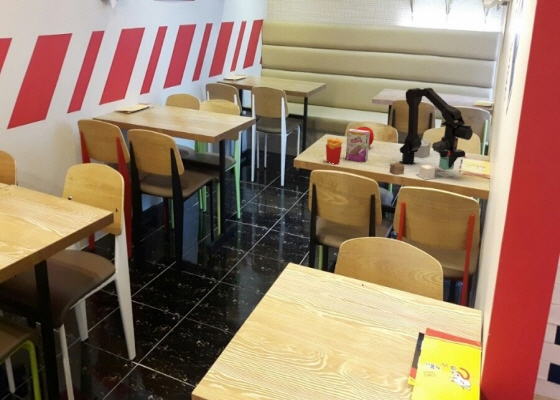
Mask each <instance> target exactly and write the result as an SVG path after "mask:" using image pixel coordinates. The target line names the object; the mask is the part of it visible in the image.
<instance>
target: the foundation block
mask: <svg viewBox="0 0 560 400" xmlns="http://www.w3.org/2000/svg"><path fill="white" fill-rule="evenodd" d="M435 172H436V167H434V166H433V165H431V164H425V165H420V169H419V174H420V176H422V177H423V178H425V179H427V178H434V174H435Z"/></svg>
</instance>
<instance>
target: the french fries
mask: <svg viewBox="0 0 560 400" xmlns="http://www.w3.org/2000/svg"><path fill="white" fill-rule="evenodd" d="M342 144H343V141H342V140H341V139H339V138H333V137H331V138H327V139H326V144H325V153H326V163H327V162H330V163H334V164H333V165H339V164H340V161H341V155H342ZM330 163H329V164H330ZM338 163H339V164H338Z"/></svg>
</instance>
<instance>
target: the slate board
mask: <svg viewBox="0 0 560 400" xmlns="http://www.w3.org/2000/svg"><path fill="white" fill-rule="evenodd" d="M415 176H416V177H419V178H420V179H422V180H424V181H430V180H437V179H445V178H446V179H447V178H454V177H457V175H456V174H454V173H452V172H451V171H449V170H442V171H441V170H440V171H435V174H434V178H427V179H425V178H423V177H422V176H420V173H417V174H415Z"/></svg>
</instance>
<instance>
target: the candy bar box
mask: <svg viewBox="0 0 560 400" xmlns="http://www.w3.org/2000/svg"><path fill="white" fill-rule="evenodd" d="M369 136H370V131H364V130H357V129H354V128H349V129H348V130H347V136H346V149H345V152H346V153H345V160H347V161H353V162H359V163H366V162H367V161H369V160H368V157H369V148H370V146H369Z"/></svg>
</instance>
